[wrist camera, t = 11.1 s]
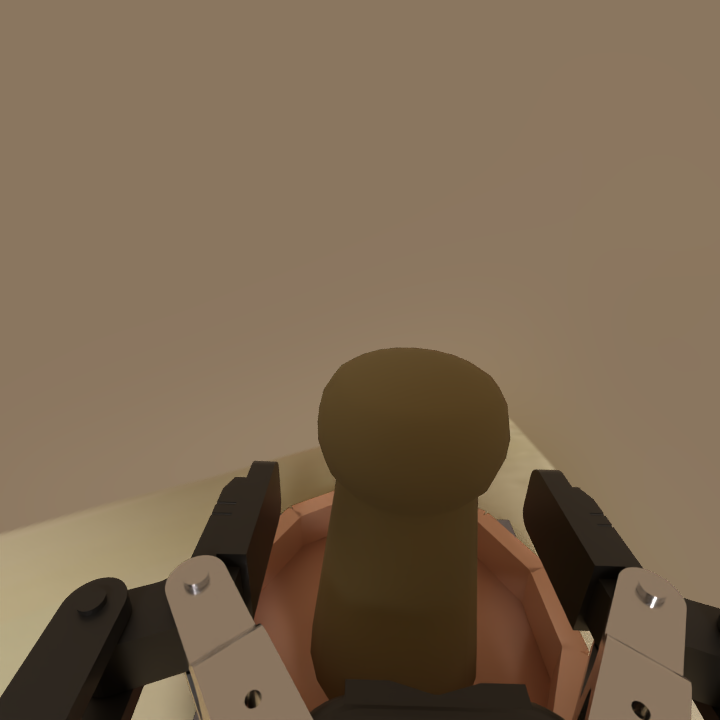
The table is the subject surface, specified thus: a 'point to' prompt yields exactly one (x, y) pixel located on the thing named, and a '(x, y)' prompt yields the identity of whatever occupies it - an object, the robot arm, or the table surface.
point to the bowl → (494, 611)
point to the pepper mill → (404, 518)
